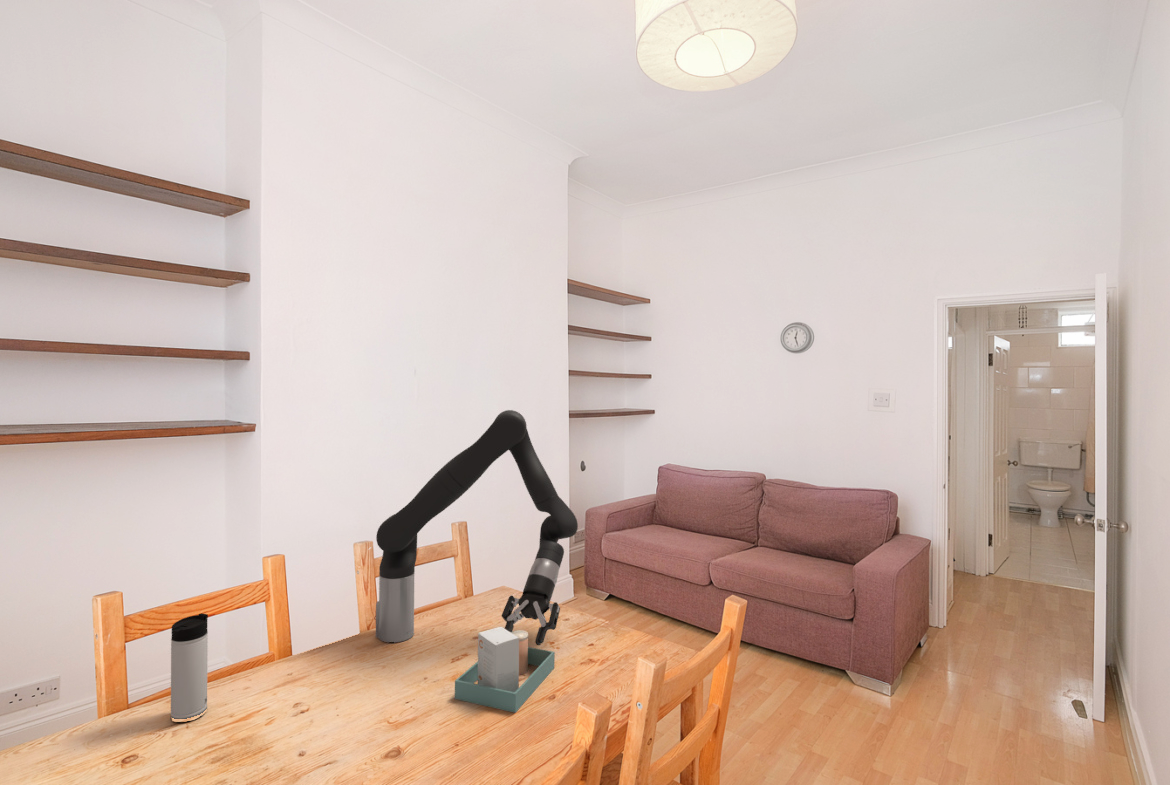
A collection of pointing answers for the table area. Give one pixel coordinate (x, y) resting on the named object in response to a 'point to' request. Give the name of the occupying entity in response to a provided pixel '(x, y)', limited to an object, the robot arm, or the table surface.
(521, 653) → the jar
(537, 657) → the tray
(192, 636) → the travel mug
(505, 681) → the small box
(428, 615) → the table surface
